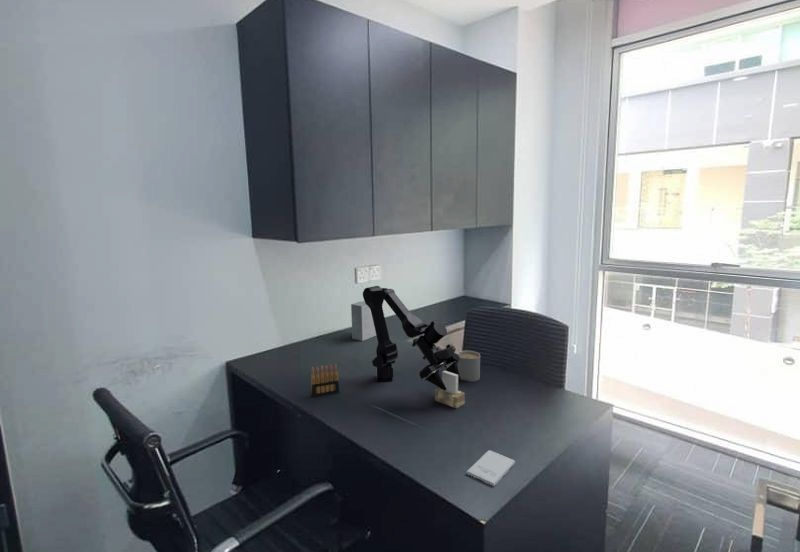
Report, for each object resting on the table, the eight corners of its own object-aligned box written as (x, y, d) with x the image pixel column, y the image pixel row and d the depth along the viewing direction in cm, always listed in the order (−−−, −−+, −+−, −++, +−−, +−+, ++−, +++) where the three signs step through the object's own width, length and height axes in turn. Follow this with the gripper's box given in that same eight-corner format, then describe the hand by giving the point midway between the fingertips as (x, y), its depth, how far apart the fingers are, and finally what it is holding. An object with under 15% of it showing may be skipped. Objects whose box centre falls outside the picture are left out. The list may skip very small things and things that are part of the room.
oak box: (434, 401, 151) (434, 390, 150) (443, 396, 154) (443, 385, 154) (456, 409, 144) (456, 397, 144) (464, 404, 148) (464, 392, 147)
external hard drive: (514, 465, 114) (494, 489, 104) (488, 454, 119) (466, 475, 109) (515, 460, 113) (494, 483, 104) (488, 449, 118) (466, 470, 109)
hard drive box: (369, 332, 237) (369, 298, 234) (380, 334, 232) (379, 300, 229) (351, 339, 224) (350, 303, 221) (362, 341, 220) (361, 305, 217)
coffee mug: (483, 380, 169) (484, 357, 168) (462, 383, 166) (462, 359, 165) (469, 368, 182) (469, 347, 180) (448, 371, 179) (449, 349, 177)
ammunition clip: (311, 397, 154) (310, 367, 152) (310, 395, 156) (309, 365, 154) (339, 392, 158) (338, 363, 156) (338, 390, 160) (337, 361, 158)
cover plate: (441, 400, 151) (442, 371, 149) (444, 398, 152) (444, 370, 150) (455, 405, 147) (455, 376, 145) (457, 403, 148) (458, 374, 146)
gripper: (425, 344, 141) (451, 383, 136) (456, 332, 155) (480, 367, 149) (408, 360, 148) (432, 398, 142) (439, 347, 161) (462, 381, 156)
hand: (453, 385), depth 147 cm, fingers open, 9 cm apart
